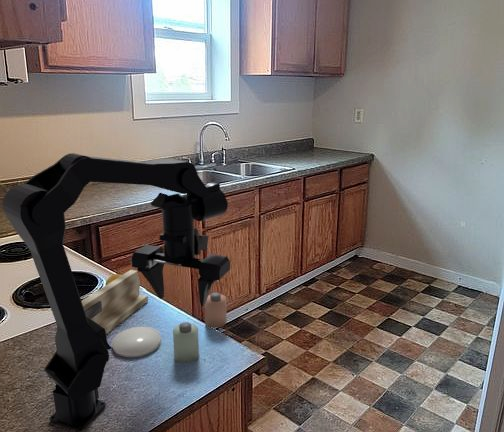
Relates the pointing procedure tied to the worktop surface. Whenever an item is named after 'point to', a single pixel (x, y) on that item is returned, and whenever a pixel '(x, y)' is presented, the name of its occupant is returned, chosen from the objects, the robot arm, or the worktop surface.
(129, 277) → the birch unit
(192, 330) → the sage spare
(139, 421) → the worktop surface
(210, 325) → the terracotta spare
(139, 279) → the bread roll
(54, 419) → the robot arm
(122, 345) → the ceramic plate
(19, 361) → the worktop surface
